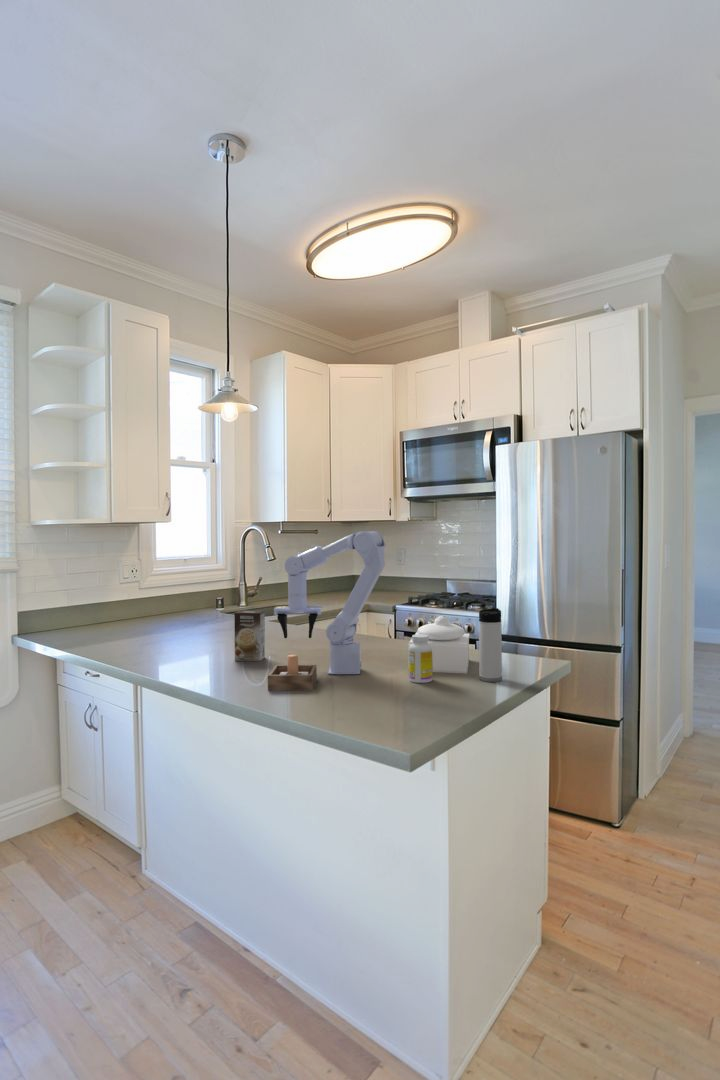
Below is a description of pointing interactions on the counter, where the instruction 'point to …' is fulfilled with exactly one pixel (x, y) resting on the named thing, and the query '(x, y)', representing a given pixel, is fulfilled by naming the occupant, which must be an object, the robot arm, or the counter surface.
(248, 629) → the coffee box
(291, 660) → the peg
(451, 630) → the white lidded jar
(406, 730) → the counter surface
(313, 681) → the peg box
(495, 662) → the travel mug
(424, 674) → the supplement bottle
